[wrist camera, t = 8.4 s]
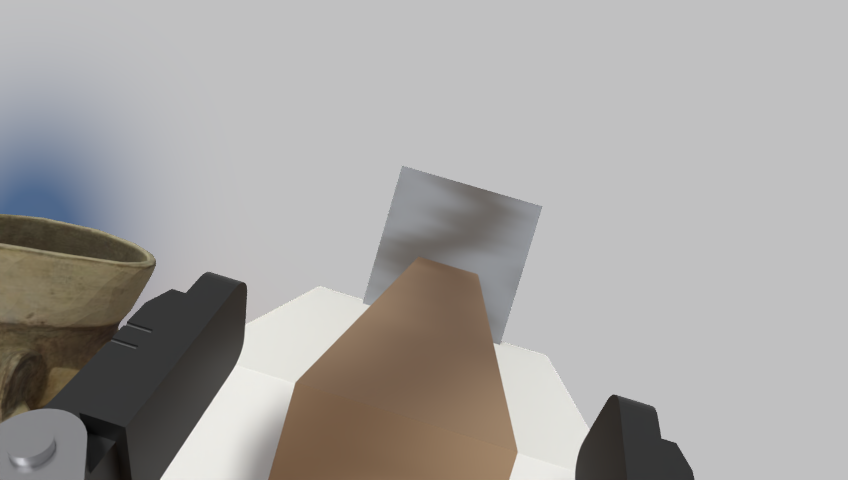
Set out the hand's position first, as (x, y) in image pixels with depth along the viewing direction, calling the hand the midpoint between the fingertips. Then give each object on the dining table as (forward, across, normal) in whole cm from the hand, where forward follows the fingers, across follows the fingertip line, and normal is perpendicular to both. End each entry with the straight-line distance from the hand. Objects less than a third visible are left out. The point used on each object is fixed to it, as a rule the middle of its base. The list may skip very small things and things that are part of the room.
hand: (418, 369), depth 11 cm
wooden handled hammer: (+8, 0, -7) cm, 10 cm away
